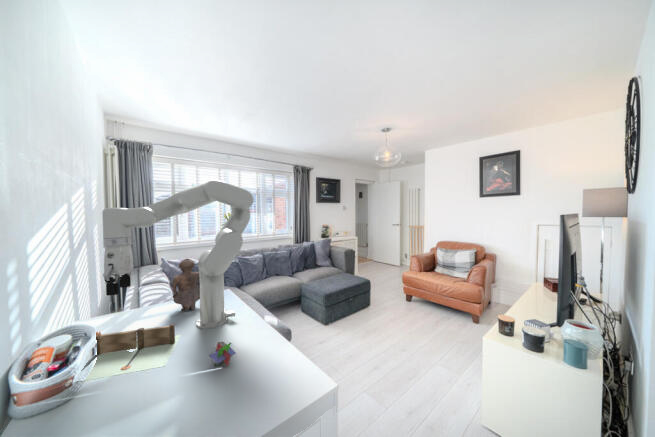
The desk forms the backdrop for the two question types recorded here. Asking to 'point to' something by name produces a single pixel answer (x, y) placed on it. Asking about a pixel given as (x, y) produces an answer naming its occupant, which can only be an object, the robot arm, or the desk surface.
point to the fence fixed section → (155, 336)
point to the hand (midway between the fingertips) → (119, 290)
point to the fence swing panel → (116, 341)
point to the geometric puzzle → (222, 353)
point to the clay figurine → (186, 286)
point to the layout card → (131, 360)
